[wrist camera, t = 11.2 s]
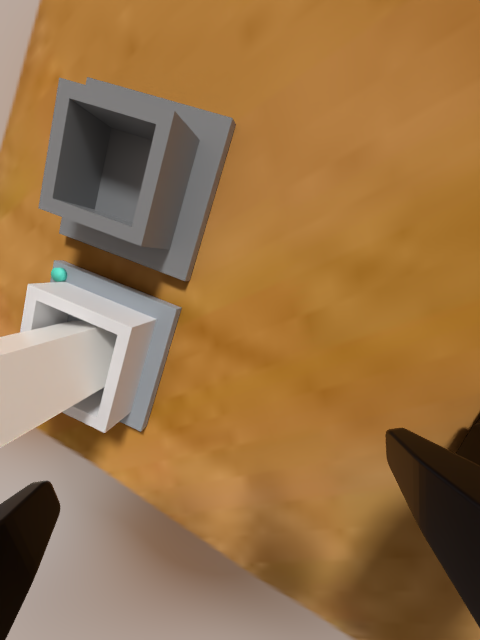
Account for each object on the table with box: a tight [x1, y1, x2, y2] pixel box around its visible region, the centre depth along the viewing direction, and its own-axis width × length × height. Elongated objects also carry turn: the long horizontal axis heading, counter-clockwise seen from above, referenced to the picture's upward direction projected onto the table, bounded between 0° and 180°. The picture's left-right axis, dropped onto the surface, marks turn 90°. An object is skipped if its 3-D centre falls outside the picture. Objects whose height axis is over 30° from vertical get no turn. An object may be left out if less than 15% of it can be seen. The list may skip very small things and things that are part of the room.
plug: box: [0, 321, 117, 448], centre depth 16 cm, size 4×4×12 cm
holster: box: [39, 77, 236, 281], centre depth 18 cm, size 10×10×4 cm
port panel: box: [20, 260, 181, 433], centre depth 21 cm, size 10×10×4 cm
